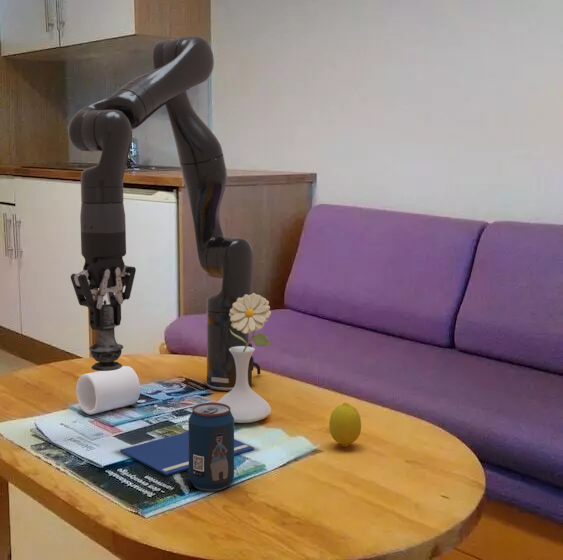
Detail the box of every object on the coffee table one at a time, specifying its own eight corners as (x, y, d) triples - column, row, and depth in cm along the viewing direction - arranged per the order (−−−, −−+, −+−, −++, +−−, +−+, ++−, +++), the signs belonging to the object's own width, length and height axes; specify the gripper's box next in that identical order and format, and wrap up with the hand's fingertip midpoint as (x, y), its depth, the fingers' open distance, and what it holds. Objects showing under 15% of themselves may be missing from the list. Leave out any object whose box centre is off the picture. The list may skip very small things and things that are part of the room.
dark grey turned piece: (130, 365, 137) (129, 298, 135) (109, 373, 132) (107, 303, 130) (104, 361, 140) (102, 295, 138) (82, 368, 134) (80, 301, 132)
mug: (141, 408, 155) (140, 369, 154) (98, 419, 148) (97, 378, 147) (108, 395, 164) (107, 358, 162) (65, 405, 156) (64, 367, 155)
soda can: (206, 471, 123) (206, 398, 122) (242, 480, 120) (243, 406, 118) (179, 486, 117) (179, 410, 116) (216, 496, 114) (216, 418, 112)
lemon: (363, 443, 137) (364, 400, 136) (356, 454, 131) (357, 409, 130) (333, 439, 138) (334, 396, 137) (325, 450, 133) (326, 405, 132)
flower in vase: (200, 418, 149) (199, 291, 146) (242, 405, 158) (242, 284, 154) (247, 434, 140) (248, 299, 137) (289, 420, 149) (291, 292, 145)
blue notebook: (205, 429, 143) (205, 426, 143) (254, 449, 133) (254, 447, 133) (120, 451, 131) (120, 449, 131) (166, 476, 121) (166, 473, 121)
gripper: (88, 233, 124) (92, 337, 127) (147, 227, 136) (149, 322, 139) (56, 230, 128) (59, 332, 131) (115, 225, 140) (118, 318, 143)
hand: (105, 326), depth 135 cm, fingers closed on dark grey turned piece, 3 cm apart
